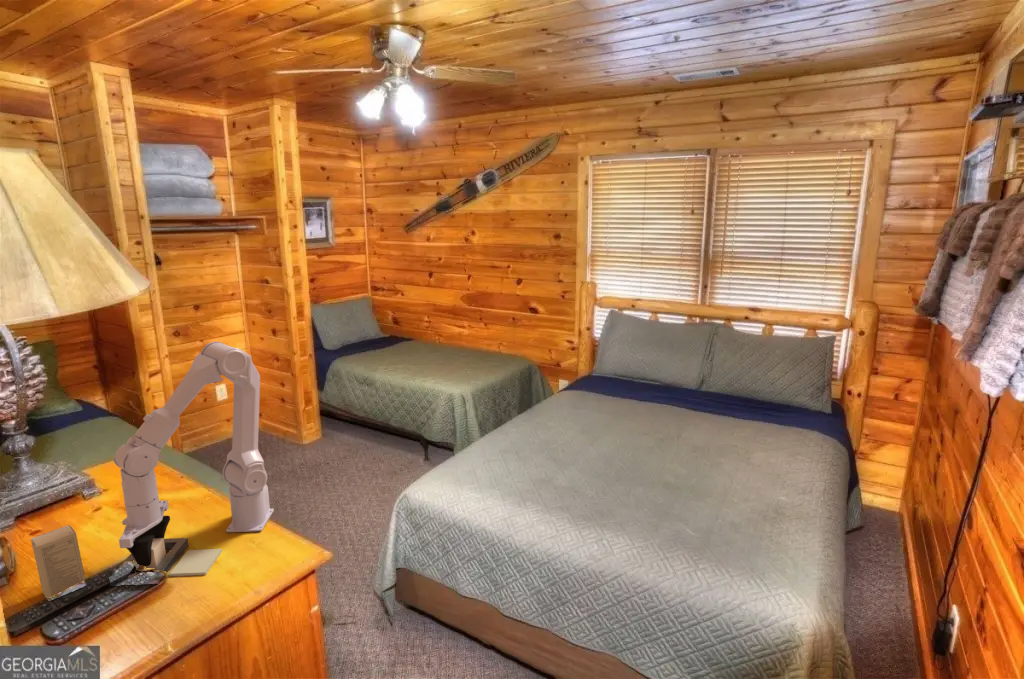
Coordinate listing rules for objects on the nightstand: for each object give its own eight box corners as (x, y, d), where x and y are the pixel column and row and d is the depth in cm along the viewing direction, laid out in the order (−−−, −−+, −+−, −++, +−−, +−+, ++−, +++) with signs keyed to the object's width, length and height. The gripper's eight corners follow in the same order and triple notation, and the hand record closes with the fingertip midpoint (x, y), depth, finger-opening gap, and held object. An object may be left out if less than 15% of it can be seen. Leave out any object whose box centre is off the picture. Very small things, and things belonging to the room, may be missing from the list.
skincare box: (80, 577, 112) (71, 523, 109) (87, 587, 109) (77, 532, 106) (41, 593, 107) (29, 537, 104) (47, 604, 104) (35, 546, 101)
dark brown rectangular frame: (145, 547, 122) (144, 539, 121) (188, 545, 123) (187, 537, 122) (109, 586, 109) (108, 577, 109) (158, 584, 110) (156, 575, 110)
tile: (188, 552, 120) (187, 550, 120) (221, 551, 121) (221, 548, 121) (169, 576, 113) (169, 573, 112) (205, 574, 113) (205, 572, 113)
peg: (146, 559, 118) (143, 538, 116) (166, 558, 118) (163, 538, 117) (136, 571, 114) (132, 550, 113) (156, 570, 114) (153, 549, 113)
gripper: (140, 482, 119) (149, 538, 122) (98, 519, 105) (108, 581, 108) (175, 481, 120) (182, 537, 123) (137, 518, 106) (147, 580, 109)
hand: (150, 558), depth 116 cm, fingers closed on peg, 4 cm apart
